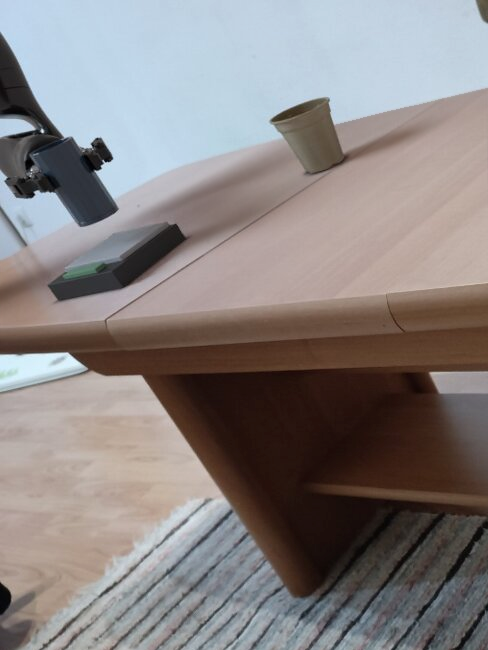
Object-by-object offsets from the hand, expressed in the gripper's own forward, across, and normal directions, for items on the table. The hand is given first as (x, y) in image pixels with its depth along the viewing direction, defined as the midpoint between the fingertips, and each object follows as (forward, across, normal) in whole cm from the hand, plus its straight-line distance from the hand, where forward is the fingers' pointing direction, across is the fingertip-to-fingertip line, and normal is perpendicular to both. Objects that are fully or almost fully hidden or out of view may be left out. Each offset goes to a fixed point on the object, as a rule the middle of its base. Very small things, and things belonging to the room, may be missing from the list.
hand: (71, 173), depth 112 cm
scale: (-2, -1, +14) cm, 14 cm away
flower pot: (-2, +32, +14) cm, 35 cm away
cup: (-2, 0, +6) cm, 7 cm away
